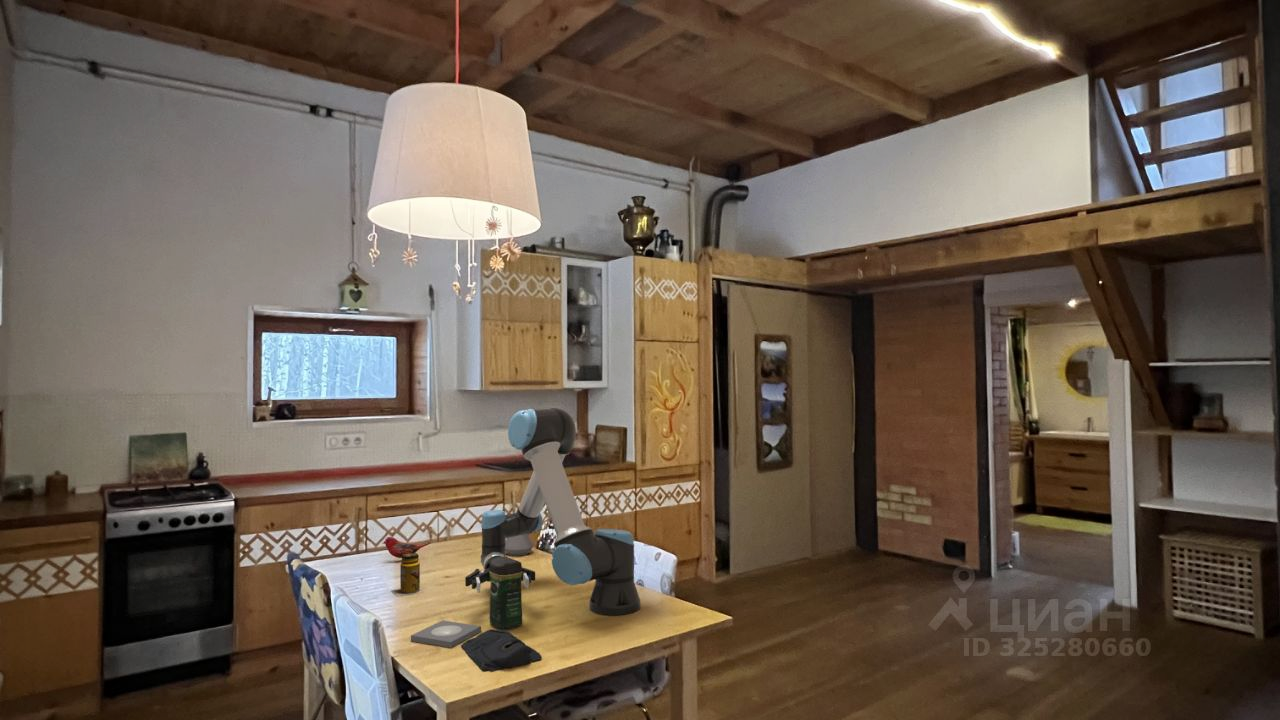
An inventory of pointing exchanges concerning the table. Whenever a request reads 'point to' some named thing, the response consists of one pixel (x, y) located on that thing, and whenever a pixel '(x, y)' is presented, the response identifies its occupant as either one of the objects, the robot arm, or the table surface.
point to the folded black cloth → (499, 651)
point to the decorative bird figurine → (401, 547)
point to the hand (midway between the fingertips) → (503, 585)
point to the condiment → (409, 575)
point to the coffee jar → (505, 592)
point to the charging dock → (446, 633)
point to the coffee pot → (518, 545)
